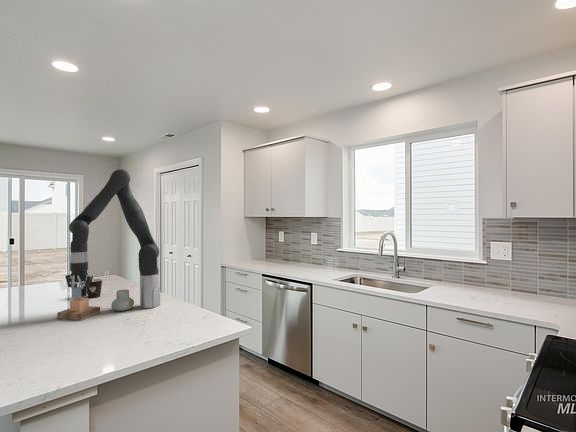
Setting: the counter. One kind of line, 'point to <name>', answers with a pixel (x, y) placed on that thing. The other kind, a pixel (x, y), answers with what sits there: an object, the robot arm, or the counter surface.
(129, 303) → the air freshener
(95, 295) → the coffee mug
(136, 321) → the counter surface
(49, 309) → the counter surface
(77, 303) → the terracotta block
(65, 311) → the walnut plinth
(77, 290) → the slate block
